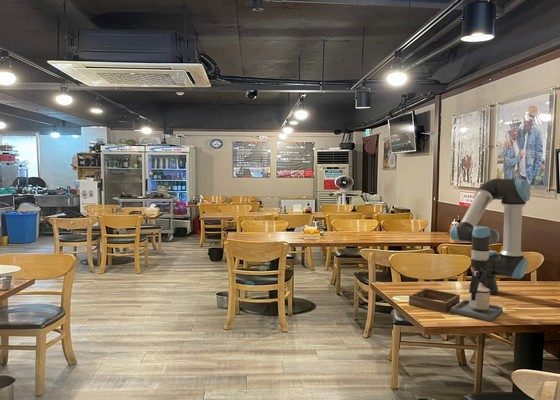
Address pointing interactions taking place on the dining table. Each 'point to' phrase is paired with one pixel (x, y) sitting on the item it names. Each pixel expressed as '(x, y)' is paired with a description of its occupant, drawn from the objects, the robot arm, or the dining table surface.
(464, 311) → the charcoal tray
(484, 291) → the teacup with lid
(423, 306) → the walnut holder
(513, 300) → the dining table surface
